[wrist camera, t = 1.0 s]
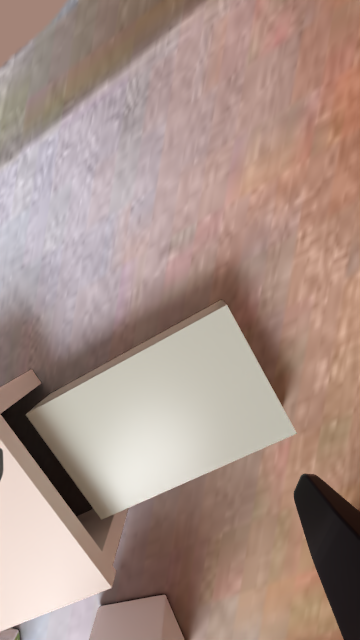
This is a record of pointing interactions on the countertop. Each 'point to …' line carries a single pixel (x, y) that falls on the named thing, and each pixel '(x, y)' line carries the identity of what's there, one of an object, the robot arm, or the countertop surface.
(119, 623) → the milk carton
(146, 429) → the cream rectangular slab
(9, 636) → the syrup box
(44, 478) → the overhang
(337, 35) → the countertop surface
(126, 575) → the countertop surface
